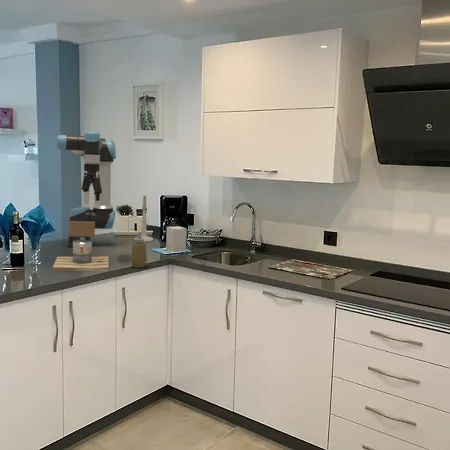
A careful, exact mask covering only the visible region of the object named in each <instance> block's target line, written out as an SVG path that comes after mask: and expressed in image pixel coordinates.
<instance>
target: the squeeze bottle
mask: <svg viewBox="0 0 450 450" xmlns="http://www.w3.org/2000/svg"><path fill="white" fill-rule="evenodd" d="M136 237H137V238H136ZM136 237H135V238H136V239H135V241H134V242H133V243H132V246H131V253H130V255H131V256H130V261H131V265H132V267H133V268H145V267H146V263H147V261H148V258H147V244H146V242H144V239H142V237H141V231H138V232H137V236H136Z"/></svg>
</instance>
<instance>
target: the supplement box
mask: <svg viewBox="0 0 450 450" xmlns="http://www.w3.org/2000/svg"><path fill="white" fill-rule="evenodd" d="M165 235H166V241H165V242H166V243H165V251H166V250H169V251H172V252H179V251H186V252H187V228H186V227H183V226H166V234H165Z"/></svg>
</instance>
